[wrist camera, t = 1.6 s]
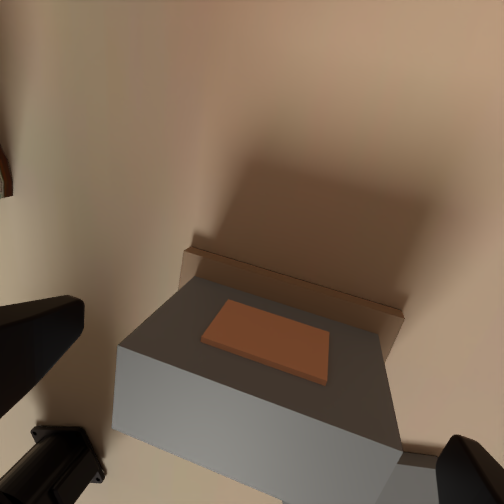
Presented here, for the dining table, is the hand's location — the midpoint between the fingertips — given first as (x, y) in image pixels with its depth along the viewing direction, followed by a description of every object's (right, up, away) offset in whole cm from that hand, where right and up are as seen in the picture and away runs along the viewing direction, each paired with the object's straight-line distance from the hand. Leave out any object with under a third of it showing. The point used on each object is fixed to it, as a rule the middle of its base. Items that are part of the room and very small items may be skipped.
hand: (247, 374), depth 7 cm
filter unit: (+2, -2, +14) cm, 15 cm away
